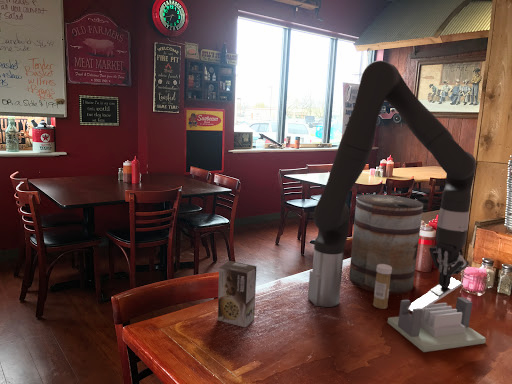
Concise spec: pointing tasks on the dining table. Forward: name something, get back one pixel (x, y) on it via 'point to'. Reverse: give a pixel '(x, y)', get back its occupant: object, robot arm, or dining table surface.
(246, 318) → the coffee box
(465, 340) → the board
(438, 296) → the clamp bar
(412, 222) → the barrel
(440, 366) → the dining table surface
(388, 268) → the sprinkles bottle
